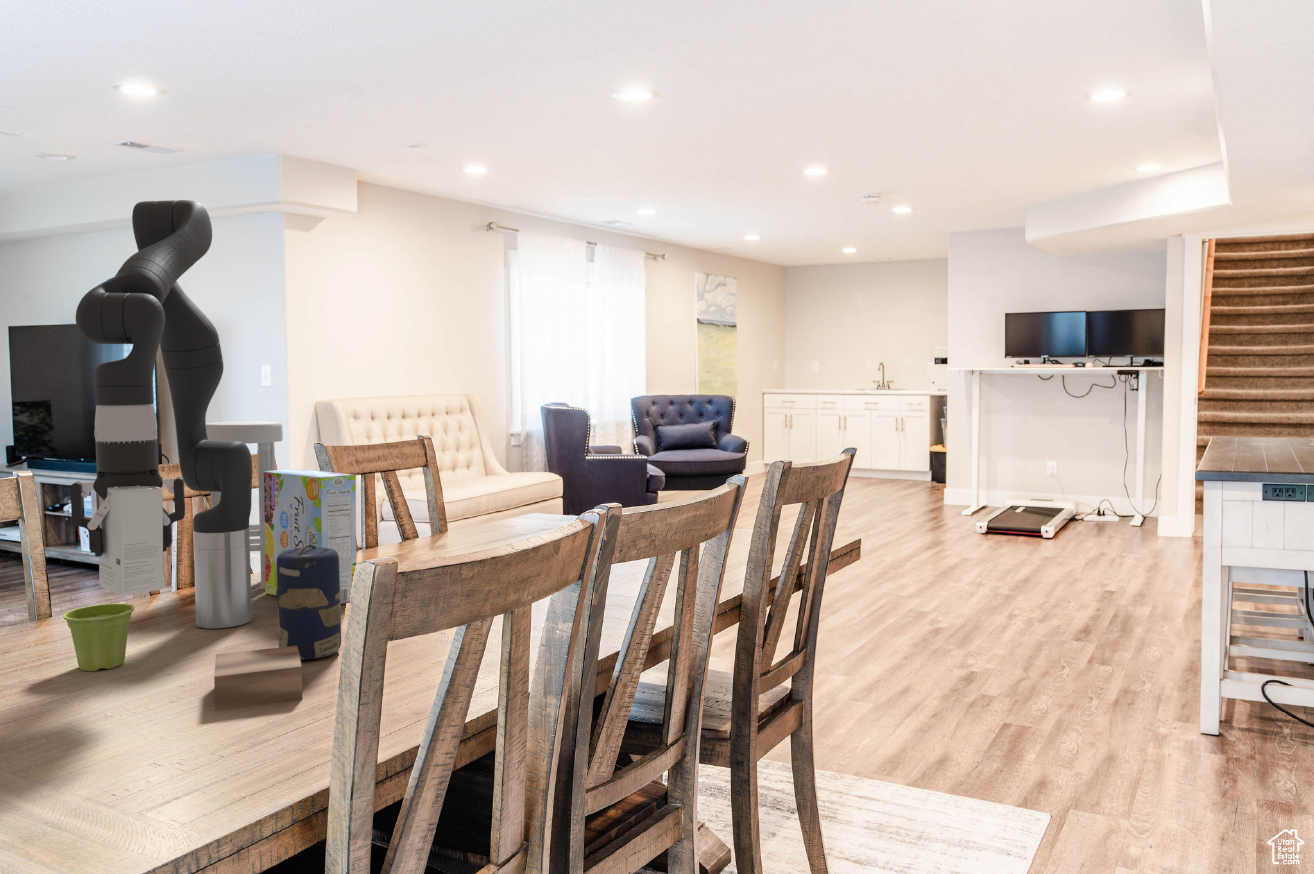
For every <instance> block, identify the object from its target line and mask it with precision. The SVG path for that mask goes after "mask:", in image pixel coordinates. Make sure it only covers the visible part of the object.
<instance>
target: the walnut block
mask: <svg viewBox="0 0 1314 874" xmlns="http://www.w3.org/2000/svg"><path fill="white" fill-rule="evenodd" d="M301 661H302V660H300V656H299V652H298V647H297V646H289V647H279V646H278V647H272V648H271V647H270V648H263V649H255V650H254V649H253V650H243V651H236V652H234V651H233V652H225V653H217V654H215V662H214V663H215V664H214V675H213V677H214V678H213V679H214V683H213V684H214V711H215V712H217V711H223V710H232V709H239V708H247V707H255V706H262V705H263V706H264V705H271V704H278V703H284V702H292V701H301V700H303V668H302V667H303V666H302V662H301Z"/></svg>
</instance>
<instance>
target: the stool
mask: <svg viewBox="0 0 1314 874" xmlns="http://www.w3.org/2000/svg"><path fill="white" fill-rule="evenodd" d="M283 427H284V426H283V423H282V422H280V421H271V420H270V421H269V420H241V421H240V420H237V421H236V420H235V421H234V420H233V421H231V420H230V421H213V422H206V432H207V437H208V440H209V441H240V442H243V443H244V444H246V445H247V444H250V445H251V444H257V473H258V476H257V477H258V480H257V481H258V509H259V510H258V511H259V515H258V516H259V523H252V524H251V523H249V533H250V552H259V553H260V554H259V555H260V560H259V561H260V589H261V591H262V590H266V585H265V582H266V574H265V511H264V471H273V470H276V460H275V459H276V458H275V456H276V451H275V443H276V442H277V443H278V442H282V441H283V440H284V439H283V438H284V435H283V434H284V432H283V431H284V430H283ZM220 497H221V492H210V509H211V508H213V507H215V506H216V505H217V504H219V502H220Z"/></svg>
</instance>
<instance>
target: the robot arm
mask: <svg viewBox="0 0 1314 874" xmlns="http://www.w3.org/2000/svg"><path fill="white" fill-rule="evenodd" d="M132 209H133V210H132V212H131V213H132V215H131V219H132V221H131V223H132V230H133V235H134V240H135V243H136V247H137V252H135V253H134V254H132V255H131V256H130V257H128V259H126V260H125V262H124V263H123V264H122V265H121V267H120V268H119V270H118V271H117V272H116V274H115V275H114V276H113V277H111V278H108V279H107V280H104V281H103V282H101V283H100V284H98V285H96V286H95V287H93V288H91V289H90V290H88V292H86V293H85V294H84V295H83V297H82V298H81V299H80V301H79V302H78V305H77V306H76V311H75V323H76V327H77V329H78V331H79V333H80V334H81V335H82V337H84V339H86V340H87V341H89V342H91V343H94V344H99V345H132V349H131V350H130V353H129V354H128V355H127V356H126V357H125V358H121V359H117V360H112V361H111V360H110V361H108V362H104V363H100V364H98V365H97V366H96V367H95V370H94V386H95V387H94V388H95V389H94V390H95V418H94V431H93V432H94V433H93V434H94V435H93V436H94V439H95V455H96V456H95V457H96V462H95V463H96V478H95V480H94V481H89V482H88V481H87V482H85V481H83V482H81V481H79V480H78V481H75V482H73V483H72V484H71V485H70V491H69V492H70V510H71V511H70V512H71V524H72V525H73V526H74V527H80V528H84V529H86V530H87V531H88V545H89V552H90V553H91V554H94V556H95V558H97V557H98V558H99V556H102V555H103V542H102V528H100V523H101V522H102V520H103V518H104V517H105V516H106V514H107V513H108V511H109V510H110V503H109V502H108V501H109V496H110V493H109V495H108V496H107V489H108V488H110V487H114V488H120V487H122V486H135V487H142V486H157V487H159V488H162V489H163V487H165V488H166V489H167V492H168V493H169V494H173V501H174V502H173V503H174V511H172V512H170V513H168V511H167V510H166V509H165V507H163V553H164V552H167V551H168V548H171V546H172V544H173V531H172V529H173V527H172V525H173V524H174V523H175V522H178V521H182V520H183V519H184V518H185V516H186V504H185V503H186V502H185V501H186V500H185V499H186V498H185V485H186V487H187V488H189V489H190V490H191V491H193V492H194V491H195V492H210V493H211V492H221V497H220V502H219V504H217V505H216V506H215V507H213V508H211V507H210V508H209V509H206V510H203V511H201V512H198V513H196V514H195V515H194V516H193V520H192V529H193V531H192V533H193V561H194V562H193V563H194V564H193V565H194V567H193V568H194V592H195V593H194V595H195V602H194V603H195V625H196V627H198V628H203V629H225V628H232V627H237V626H242V625H245V624H247V623H249V622H251V621H252V619H253V618H252V579H251V578H252V577H251V551H250V545H251V544H250V538H251V537H250V533H249V531H250V530H249V524H250V517H251V512H252V498H253V497H252V495H253V492H252V491H253V490H252V488H253V458H252V453H251V451H250V449H249V446H247V444H244V443H243V442H240V441H209V440H208V437H207V432H206V423H207V422H206V416H207V412H208V409H209V408H208V407H209V405H210V403H211V401H212V399H213V396H214V395H215V393H216V391H217V389H218V387H219V385H220V382H221V380H222V377H223V373H224V361H223V360H224V358H223V353H222V347H221V342H220V338H219V336H220V335H219V334H218V330H217V328H216V327H215V326H214V324H213V322H212V321H211V320H210V318H208V316H207V315H206V314H205V313H204V312H203V310H201V309H200V308H199V307H198V306H197V305H196V304H195V302H194V301H192V299H191V298H190V297H189V296H188V295H187V294H186V292H185V290H183V288H182V287H181V285H180V284H179V282H178V280H179V279H180V278H181V276H183V275H184V274H185V273H186V272H187V271H188V270H190V269H191V268H192V267H193V266H194V265H195V264H196V263H197V262H198V261H200V260H201V259H202V258H203V257H204V256H205V255H206V254H207V253H208V251H209V250H210V248H211V244H212V241H213V227H212V221H211V217H210V215H209V212H208V211H207V209H206V208H205V206H204V205H203V204H201V203H200V202H198V201H194V200H188V199H180V200H178V199H177V200H176V199H174V200H146V201H145V200H143V201H139V202H137V203H136V204H135V205H134V207H133V208H132ZM159 346H160V352H161V356H162V361H163V365H164V367H163V368H164V370H165V374H166V379H167V384H168V388H169V392H170V398H171V402H172V403H171V404H172V408H173V415H174V416H173V417H174V423H175V432H176V443H177V453H178V460H179V461H178V463H179V469H180V473H181V476H176V477H174V478H162V476H161V475H160V471H159V450H158V449H159V447H158V445H159V444H158V443H159V442H158V421H157V415H156V410H155V396H154V372H155V371H154V370H155V366H156V365H155V364H156V360H157V355H158V350H159ZM92 490H94V492H96V494H97V495H98V497H99V496H100V497H101V498H102V499H103V500H104V502H103V503H102V505H101V506H100V507H99V506H98V509H96V511H95V513H94V514H93V516H92V517H87V516H85V498H87V497H88V496H89V495H90V492H91V491H92ZM105 507H106V508H105Z"/></svg>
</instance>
